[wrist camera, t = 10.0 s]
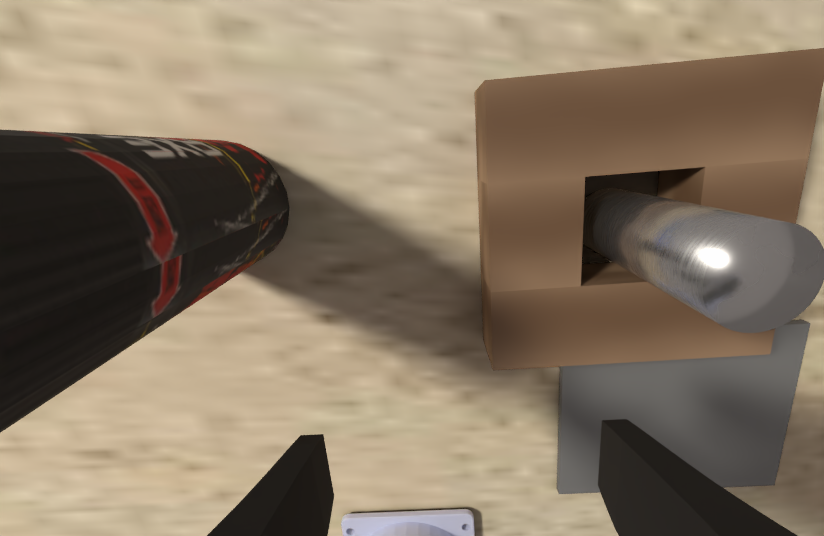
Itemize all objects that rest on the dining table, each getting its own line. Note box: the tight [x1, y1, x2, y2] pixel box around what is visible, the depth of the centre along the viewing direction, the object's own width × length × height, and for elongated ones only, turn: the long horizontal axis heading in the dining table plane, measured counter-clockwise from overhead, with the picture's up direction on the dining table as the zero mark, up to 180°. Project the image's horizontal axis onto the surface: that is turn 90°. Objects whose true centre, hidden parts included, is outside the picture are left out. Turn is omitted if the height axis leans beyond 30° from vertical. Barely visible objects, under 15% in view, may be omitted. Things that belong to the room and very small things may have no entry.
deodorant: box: [0, 130, 289, 432], centre depth 12 cm, size 6×6×15 cm
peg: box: [583, 188, 824, 333], centre depth 14 cm, size 3×3×9 cm
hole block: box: [475, 48, 824, 370], centre depth 17 cm, size 12×12×3 cm
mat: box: [557, 320, 810, 494], centre depth 21 cm, size 10×12×1 cm
